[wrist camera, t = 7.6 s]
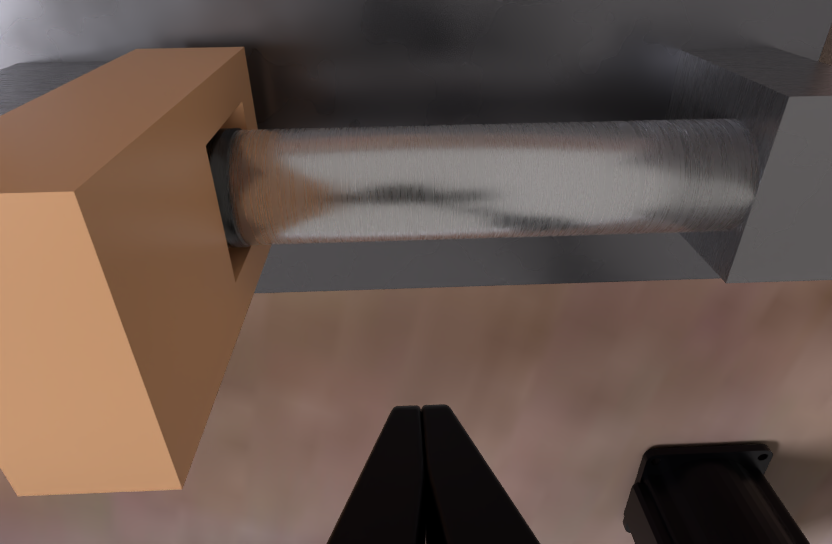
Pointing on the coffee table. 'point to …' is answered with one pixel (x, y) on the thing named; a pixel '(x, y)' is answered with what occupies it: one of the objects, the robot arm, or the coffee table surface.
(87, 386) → the tan rectangular block
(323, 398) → the coffee table surface
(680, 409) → the coffee table surface
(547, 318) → the coffee table surface
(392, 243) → the pipe stand
